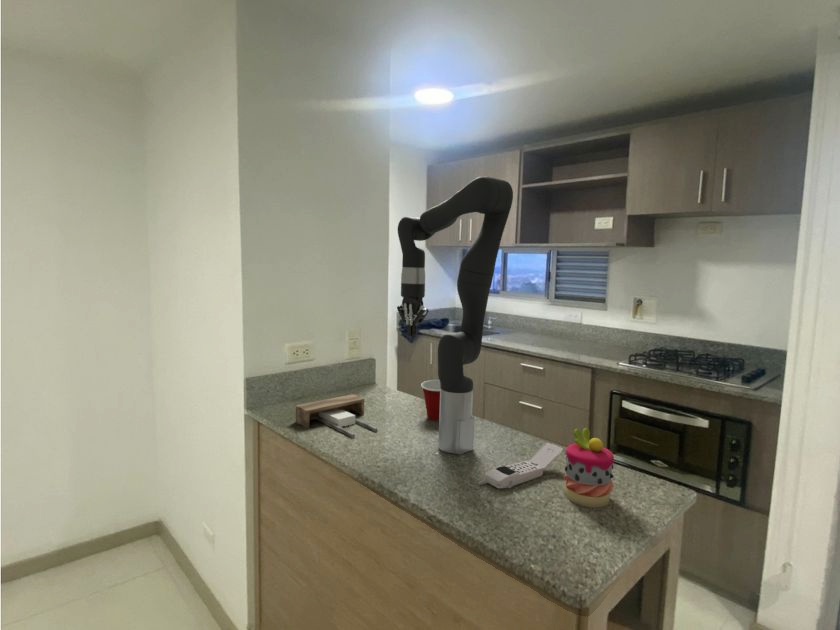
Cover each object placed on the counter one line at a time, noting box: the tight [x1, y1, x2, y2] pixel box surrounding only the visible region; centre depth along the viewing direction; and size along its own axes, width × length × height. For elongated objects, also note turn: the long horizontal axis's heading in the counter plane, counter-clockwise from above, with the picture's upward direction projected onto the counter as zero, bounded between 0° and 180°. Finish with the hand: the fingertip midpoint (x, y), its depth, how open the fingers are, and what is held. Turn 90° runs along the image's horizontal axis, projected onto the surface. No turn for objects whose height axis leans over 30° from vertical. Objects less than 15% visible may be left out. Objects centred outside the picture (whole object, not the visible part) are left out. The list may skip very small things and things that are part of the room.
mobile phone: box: [477, 442, 564, 489], centre depth 117 cm, size 6×6×25 cm
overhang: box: [295, 393, 378, 439], centre depth 151 cm, size 23×22×6 cm
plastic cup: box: [420, 379, 440, 421], centre depth 160 cm, size 11×11×12 cm
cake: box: [562, 427, 615, 508], centre depth 107 cm, size 10×11×15 cm
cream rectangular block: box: [319, 407, 356, 428], centre depth 154 cm, size 12×6×3 cm, turn 43°
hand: (411, 336), depth 149 cm, fingers closed
